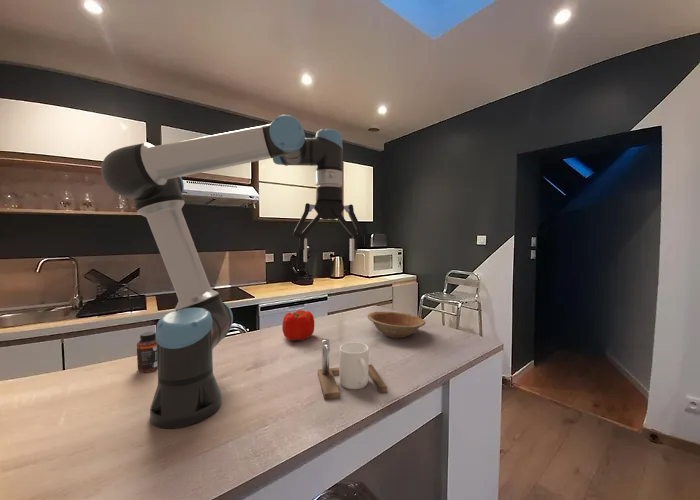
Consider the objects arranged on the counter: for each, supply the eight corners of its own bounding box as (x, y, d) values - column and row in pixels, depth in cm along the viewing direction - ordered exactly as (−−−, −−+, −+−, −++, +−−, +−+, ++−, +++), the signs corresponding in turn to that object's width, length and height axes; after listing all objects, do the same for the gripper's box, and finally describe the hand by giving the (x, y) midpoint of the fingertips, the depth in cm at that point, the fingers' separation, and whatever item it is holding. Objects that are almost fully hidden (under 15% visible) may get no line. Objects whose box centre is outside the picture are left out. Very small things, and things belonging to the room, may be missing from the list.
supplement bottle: (163, 368, 95) (161, 333, 95) (140, 375, 91) (139, 338, 90) (157, 363, 99) (156, 329, 99) (135, 369, 95) (134, 333, 94)
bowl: (431, 346, 115) (431, 325, 115) (368, 345, 116) (368, 324, 115) (418, 326, 139) (418, 309, 138) (366, 326, 139) (366, 308, 139)
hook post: (324, 381, 85) (324, 346, 84) (321, 372, 90) (321, 339, 90) (331, 380, 85) (331, 345, 84) (328, 371, 91) (328, 338, 90)
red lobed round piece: (298, 330, 133) (298, 306, 132) (321, 336, 125) (321, 311, 124) (274, 339, 122) (273, 313, 121) (297, 346, 114) (297, 319, 113)
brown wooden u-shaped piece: (324, 399, 78) (324, 393, 78) (317, 374, 92) (317, 369, 92) (386, 392, 82) (386, 386, 82) (371, 369, 96) (371, 364, 96)
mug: (380, 392, 82) (380, 355, 81) (352, 399, 78) (352, 360, 78) (360, 373, 93) (360, 340, 92) (335, 379, 89) (335, 344, 89)
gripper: (284, 183, 81) (285, 263, 82) (374, 186, 86) (374, 261, 87) (284, 187, 88) (284, 260, 89) (367, 190, 93) (366, 259, 95)
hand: (328, 261), depth 88 cm, fingers open, 13 cm apart
